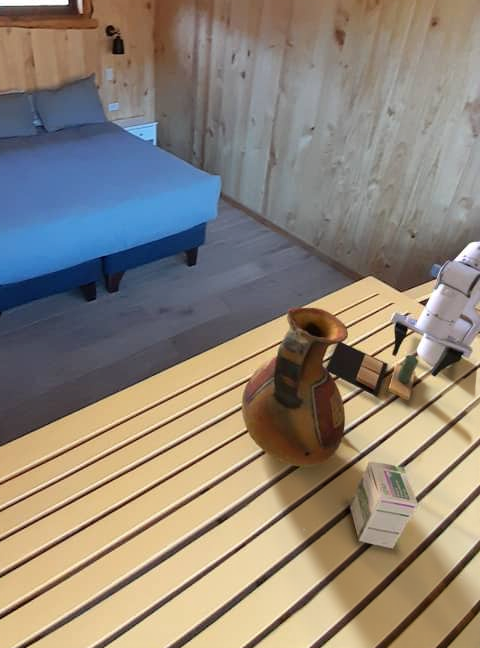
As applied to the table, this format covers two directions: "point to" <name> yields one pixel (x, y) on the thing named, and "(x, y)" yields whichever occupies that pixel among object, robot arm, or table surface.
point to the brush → (403, 377)
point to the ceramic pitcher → (298, 393)
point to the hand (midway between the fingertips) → (413, 363)
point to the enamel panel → (352, 367)
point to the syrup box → (382, 504)
